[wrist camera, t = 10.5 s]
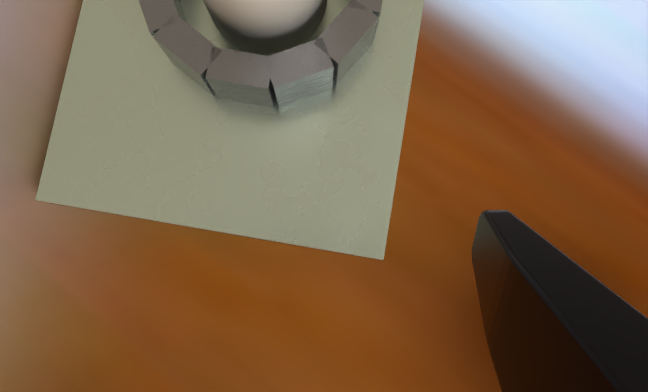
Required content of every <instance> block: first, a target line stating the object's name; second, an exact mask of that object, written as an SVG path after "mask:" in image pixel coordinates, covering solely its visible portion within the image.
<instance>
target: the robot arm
mask: <svg viewBox="0 0 648 392" xmlns="http://www.w3.org/2000/svg"><path fill="white" fill-rule="evenodd" d="M472 262H473V268H474V273H475V279H476V285H477V290H478V296H479V301H480V307H481V312H482V318H483V323H484V329H485V334H486V339H487V343H488V347H489V350H490V354H491V357H492V361H493V364H494V367H495V370H496V373H497V377H498V380H499V383H500V386H501V390H502V392H648V318H647V317H645V316H644V315H643V314H641V313H640V312H639V311H638V310H636V309H635V308H634V307H632V306H631V305H630V304H628V303H627V302H626V301H625V300H623V299H622V298H621V297H619V296H618V295H617V294H616V293H614V292H613V291H612V290H610V289H609V288H608V287H606V286H605V285H604V284H603V283H601V282H600V281H599V280H597V279H596V278H595V277H594V276H592V275H591V274H590V273H588V272H587V271H586V270H584V269H583V268H582V267H581V266H579V265H578V264H577V263H575V262H574V261H573V260H572V259H570V258H569V257H568V256H566V255H565V254H564V253H562V252H561V251H560V250H559V249H557V248H556V247H555V246H553V245H552V244H551V243H549V242H548V241H547V240H546V239H544V238H543V237H542V236H540V235H539V234H538V233H537V232H535V231H534V230H533V229H531V228H530V227H529V226H527V225H526V224H525V223H524V222H522V221H521V220H520V219H518V218H517V217H516V216H515V215H513V214H512V213H510V212H509V211H507V210H485V211H483V212H482V213H481V215H480V217H479V220H478V225H477V229H476V233H475V238H474V242H473V247H472Z"/></svg>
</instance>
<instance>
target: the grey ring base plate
mask: <svg viewBox="0 0 648 392" xmlns="http://www.w3.org/2000/svg"><path fill="white" fill-rule="evenodd" d="M423 3H424V0H327V5H326V10H325V13H324V16H323V18H322V21H321V23H320V24H319V26H318V27H317V29H316V30H315V31H314V33H313V34H312V35H311V36H310V37H309V38H308V39H306V40H305V41H304V42H302V43H301V44H300V45H298V46H296V47H293V48H290V49H287V50H285V51H282V52H279V53H272V54H261V53H254V52H250V51H247V50H244V49H242V48H239V47H237V46H236V45H234V44H232V43H231V42H230V41H228V40H227V39H226V38H225V37H224V36H223V35H222V34H221V33H220V32H219V30H218V29H217V28H216V26H215V24H214V22H213V20H212V18H211V16H210V14H209V12H208V10H207V8H206V5H205V3H204V1H203V0H83V2H82V7H81V11H80V15H79V19H78V23H77V28H76V32H75V36H74V40H73V44H72V49H71V53H70V57H69V61H68V65H67V70H66V74H65V78H64V82H63V86H62V91H61V95H60V99H59V103H58V107H57V111H56V116H55V120H54V124H53V128H52V132H51V137H50V141H49V145H48V149H47V153H46V158H45V162H44V166H43V170H42V174H41V179H40V183H39V187H38V191H37V195H36V199H35V200H38V201H42V202H47V203H53V204H58V205H64V206H70V207H76V208H82V209H87V210H93V211H99V212H105V213H111V214H117V215H122V216H128V217H134V218H140V219H146V220H152V221H157V222H163V223H169V224H175V225H181V226H186V227H192V228H198V229H204V230H210V231H216V232H221V233H227V234H233V235H239V236H245V237H250V238H256V239H262V240H268V241H274V242H280V243H285V244H291V245H297V246H303V247H309V248H314V249H320V250H326V251H332V252H338V253H344V254H349V255H355V256H361V257H367V258H373V259H378V260H384V253H385V247H386V241H387V234H388V228H389V221H390V215H391V209H392V202H393V196H394V189H395V183H396V176H397V170H398V164H399V157H400V151H401V144H402V138H403V132H404V125H405V119H406V112H407V106H408V100H409V93H410V87H411V80H412V74H413V67H414V61H415V55H416V48H417V42H418V35H419V29H420V23H421V16H422V10H423Z"/></svg>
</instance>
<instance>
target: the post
mask: <svg viewBox="0 0 648 392" xmlns="http://www.w3.org/2000/svg"><path fill="white" fill-rule="evenodd" d="M203 1H204V3H205V5H206V8H207V10H208V12H209V14H210V16H211V18H212V20H213V22H214V24H215V26H216V28H217V29H218V30H219V32H220V33H221V34H222V35H223V36H224V37H225V38H226V39H227V40H228V41H230V42H231V43H232V44H234V45H236V46H237V47H239V48H242V49H244V50H247V51H250V52H254V53H261V54H272V53H279V52H282V51H285V50H287V49H290V48H293V47H296V46H298V45H300V44H301V43H302V42H304V41H305V40H306V39H308V38H309V37H310V36H311V35H312V34H313V33H314V31H315V30H316V29H317V27H318V26H319V24H320V23H321V21H322V18H323V16H324V13H325V10H326V5H327V0H203Z"/></svg>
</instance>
